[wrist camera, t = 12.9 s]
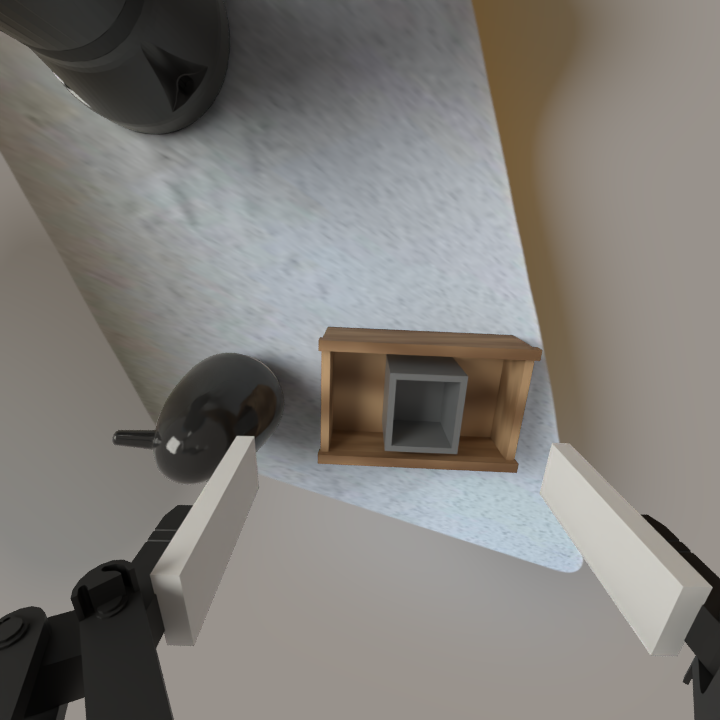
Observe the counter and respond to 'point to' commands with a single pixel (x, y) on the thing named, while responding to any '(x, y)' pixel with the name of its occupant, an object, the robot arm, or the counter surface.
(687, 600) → the robot arm
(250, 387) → the pump dispenser
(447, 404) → the box
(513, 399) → the large crate
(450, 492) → the counter surface
